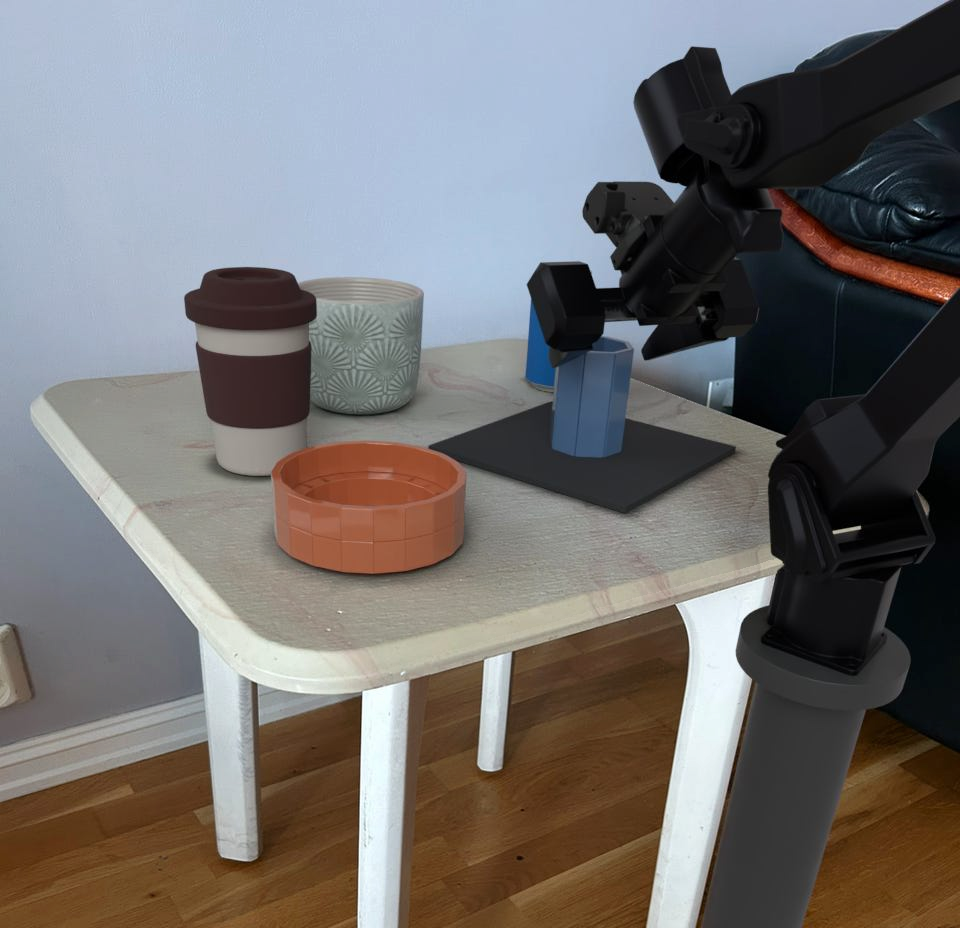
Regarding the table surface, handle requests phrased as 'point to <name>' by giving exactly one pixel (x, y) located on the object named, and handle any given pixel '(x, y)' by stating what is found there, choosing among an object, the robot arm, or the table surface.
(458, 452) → the mat
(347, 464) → the bowl
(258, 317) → the coffee cup
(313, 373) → the planter
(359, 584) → the table surface
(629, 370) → the blue cup
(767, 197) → the robot arm
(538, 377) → the beverage can
